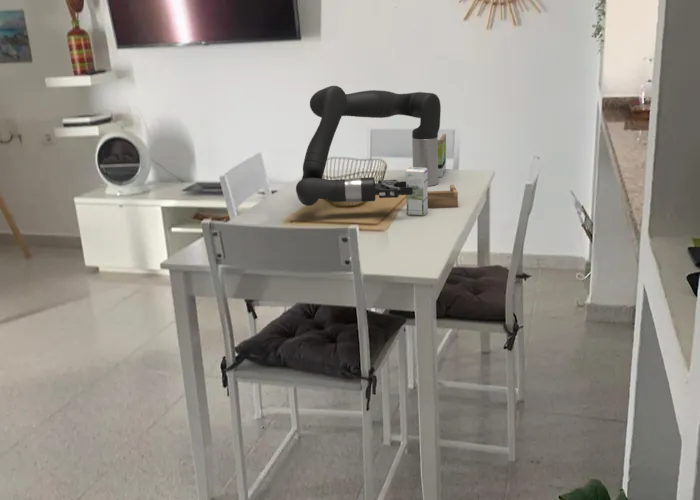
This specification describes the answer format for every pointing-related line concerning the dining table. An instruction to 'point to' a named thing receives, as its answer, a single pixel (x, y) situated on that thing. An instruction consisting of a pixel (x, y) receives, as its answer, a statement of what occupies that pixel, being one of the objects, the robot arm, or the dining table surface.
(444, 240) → the dining table surface
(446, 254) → the dining table surface
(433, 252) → the dining table surface
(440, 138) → the tea box
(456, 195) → the walnut tray
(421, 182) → the syrup box
